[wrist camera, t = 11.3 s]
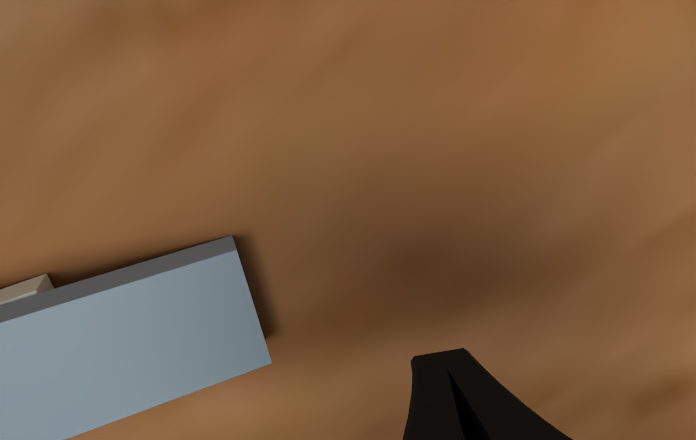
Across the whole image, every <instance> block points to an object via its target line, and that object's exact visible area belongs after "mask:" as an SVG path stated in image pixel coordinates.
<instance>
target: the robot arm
mask: <svg viewBox="0 0 696 440" xmlns="http://www.w3.org/2000/svg"><path fill="white" fill-rule="evenodd" d="M411 367H412V393H411V400H410V407H409V414H408V419H407V423H406V427H405V432H404V436H403V440H572V439H571V438H569V437H568V436H566V435H565V434H563V433H562V432H560V431H559V430H558V429H556V428H555V427H553V426H552V425H551V424H549V423H548V422H547V421H545V420H544V419H543V418H541V417H540V416H539V415H537V414H536V413H535V412H533V411H532V410H531V409H530V408H528V407H527V406H526V405H525V404H524V403H522V402H521V401H520V400H519V399H518V398H516V397H515V396H514V395H513V394H512V393H511V392H509V391H508V390H507V389H506V388H505V387H504V386H503V385H501V384H500V383H499V382H498V381H497V380H496V379H495V378H494V377H493V376H492V375H491V374H490V373H489V372H488V371H487V370H486V369H485V368H484V367H483V366H482V365H481V364H480V363H479V362H478V361H477V360H476V359H475V358H474V357H473V356H472V355H471V354H470V353H469V352H468V351H467V350H465V349H464V348H461V349H455V350H449V351H443V352H437V353H431V354H425V355H419V356H414V357H413V359H412V360H411Z"/></svg>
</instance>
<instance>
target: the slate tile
mask: <svg viewBox="0 0 696 440" xmlns="http://www.w3.org/2000/svg"><path fill="white" fill-rule="evenodd" d="M271 363H272V362H271V358H270V355H269V352H268V348H267V345H266V342H265V339H264V335H263V332H262V329H261V326H260V323H259V319H258V316H257V313H256V310H255V307H254V303H253V300H252V297H251V294H250V291H249V287H248V284H247V281H246V278H245V275H244V271H243V268H242V265H241V262H240V259H239V255H238V252H237V249H236V246H235V243H234V239H233V236H232V235H231V236H228V237H224V238H221V239H218V240H214V241H211V242H208V243H204V244H201V245H198V246H194V247H191V248H188V249H185V250H181V251H178V252H175V253H171V254H168V255H165V256H161V257H158V258H155V259H151V260H148V261H145V262H141V263H138V264H135V265H131V266H128V267H125V268H121V269H118V270H115V271H111V272H108V273H105V274H102V275H98V276H95V277H92V278H88V279H85V280H82V281H78V282H75V283H72V284H68V285H65V286H62V287H58V288H55V289H52V290H48V291H45V292H42V293H38V294H35V295H32V296H28V297H25V298H22V299H18V300H15V301H12V302H9V303H5V304H2V305H0V440H65V439H68V438H70V437H73V436H76V435H78V434H81V433H84V432H87V431H89V430H92V429H95V428H97V427H100V426H103V425H106V424H108V423H111V422H114V421H116V420H119V419H122V418H125V417H127V416H130V415H133V414H135V413H138V412H141V411H144V410H146V409H149V408H152V407H154V406H157V405H160V404H163V403H165V402H168V401H171V400H173V399H176V398H179V397H182V396H184V395H187V394H190V393H192V392H195V391H198V390H201V389H203V388H206V387H209V386H211V385H214V384H217V383H220V382H222V381H225V380H228V379H230V378H233V377H236V376H239V375H241V374H244V373H247V372H249V371H252V370H255V369H258V368H260V367H263V366H266V365H268V364H271Z"/></svg>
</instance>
